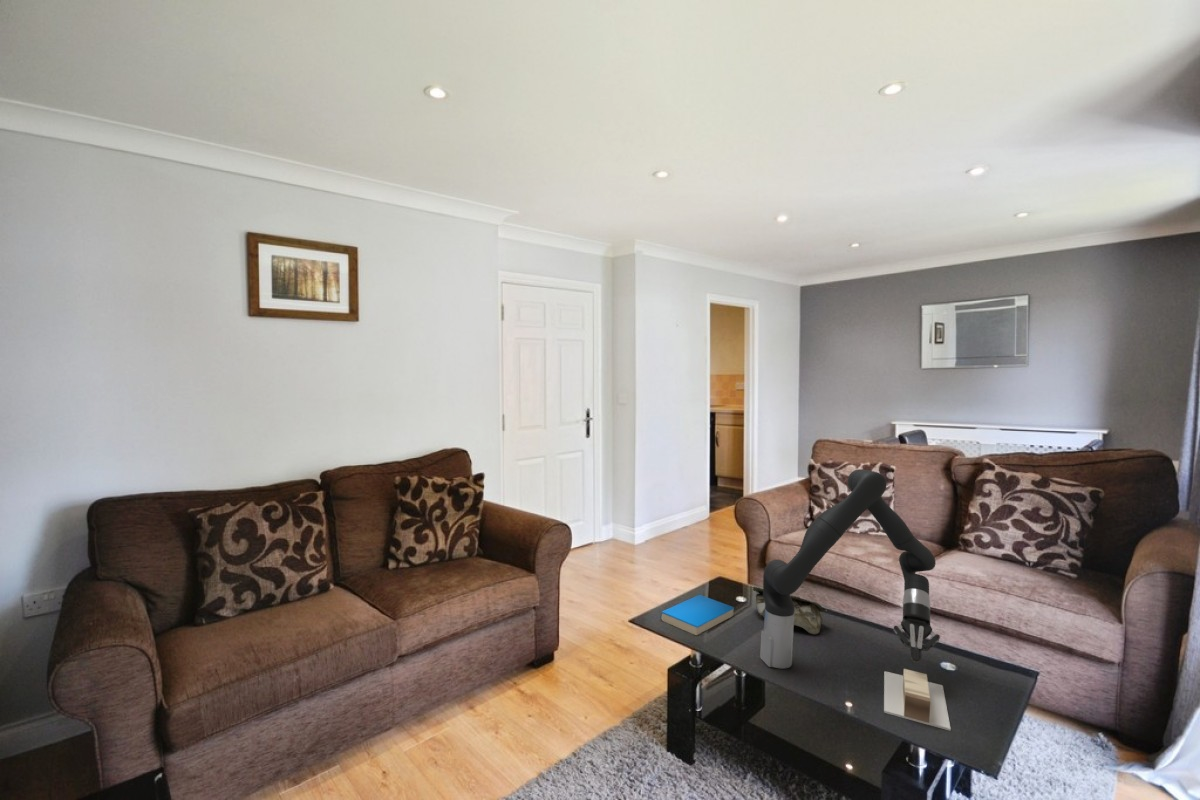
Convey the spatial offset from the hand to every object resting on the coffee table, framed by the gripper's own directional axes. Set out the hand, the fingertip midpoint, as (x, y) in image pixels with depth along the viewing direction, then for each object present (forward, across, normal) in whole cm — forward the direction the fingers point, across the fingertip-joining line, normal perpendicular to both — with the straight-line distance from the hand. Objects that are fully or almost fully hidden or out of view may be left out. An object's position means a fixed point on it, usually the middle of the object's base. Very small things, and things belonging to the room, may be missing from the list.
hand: (915, 662), depth 165 cm
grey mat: (+9, 0, +5) cm, 10 cm away
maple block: (+4, 0, +6) cm, 7 cm away
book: (-4, -72, +19) cm, 75 cm away
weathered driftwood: (-15, -42, +30) cm, 53 cm away
